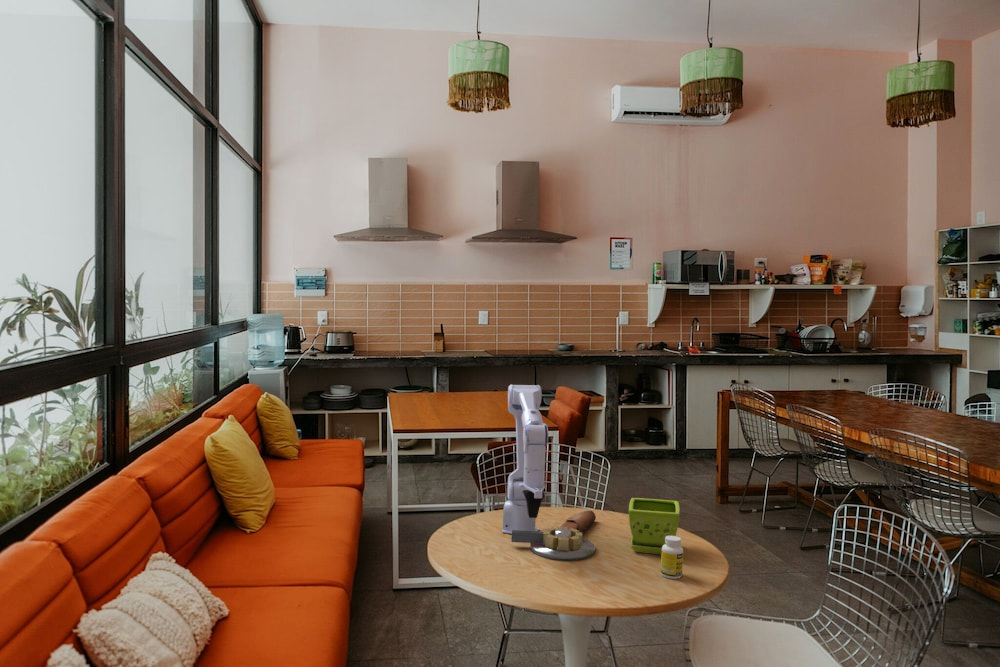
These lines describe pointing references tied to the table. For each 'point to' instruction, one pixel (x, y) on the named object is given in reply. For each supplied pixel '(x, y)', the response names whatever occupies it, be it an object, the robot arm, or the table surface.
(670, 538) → the supplement bottle
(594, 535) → the table surface
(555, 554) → the grey round disc
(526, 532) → the gear with bar handle
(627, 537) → the table surface
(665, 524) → the flower pot
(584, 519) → the sunglasses case
